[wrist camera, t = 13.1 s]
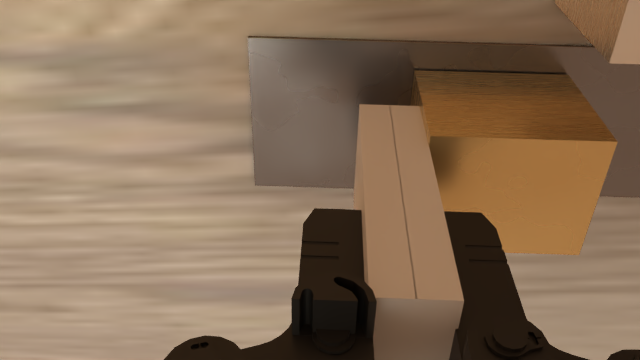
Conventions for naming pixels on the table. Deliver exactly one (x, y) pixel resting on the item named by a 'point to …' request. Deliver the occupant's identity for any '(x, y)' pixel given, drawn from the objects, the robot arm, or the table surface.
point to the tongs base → (406, 99)
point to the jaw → (608, 26)
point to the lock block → (516, 153)
